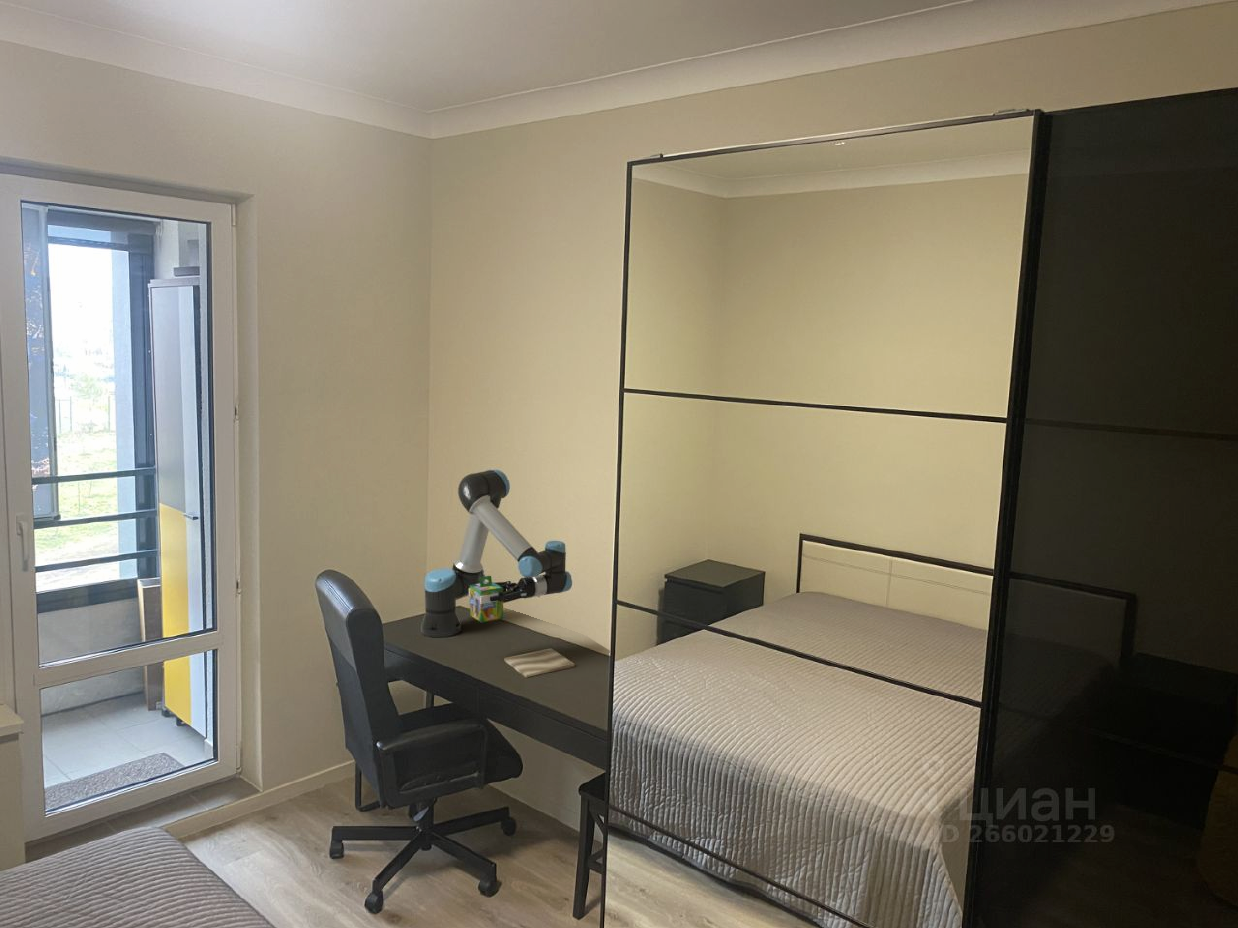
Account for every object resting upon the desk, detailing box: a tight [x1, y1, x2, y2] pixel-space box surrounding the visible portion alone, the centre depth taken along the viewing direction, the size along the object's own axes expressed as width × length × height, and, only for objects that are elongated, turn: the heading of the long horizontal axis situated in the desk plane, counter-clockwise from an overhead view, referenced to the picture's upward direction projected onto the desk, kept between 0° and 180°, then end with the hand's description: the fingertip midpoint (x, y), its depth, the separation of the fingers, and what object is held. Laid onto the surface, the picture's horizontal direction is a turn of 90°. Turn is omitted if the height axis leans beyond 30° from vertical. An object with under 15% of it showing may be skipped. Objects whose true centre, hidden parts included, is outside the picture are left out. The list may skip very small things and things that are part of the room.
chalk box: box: [469, 575, 504, 623], centre depth 312 cm, size 9×9×15 cm
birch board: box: [503, 647, 575, 678], centre depth 310 cm, size 17×19×1 cm
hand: (474, 595), depth 309 cm, fingers closed on chalk box, 9 cm apart
